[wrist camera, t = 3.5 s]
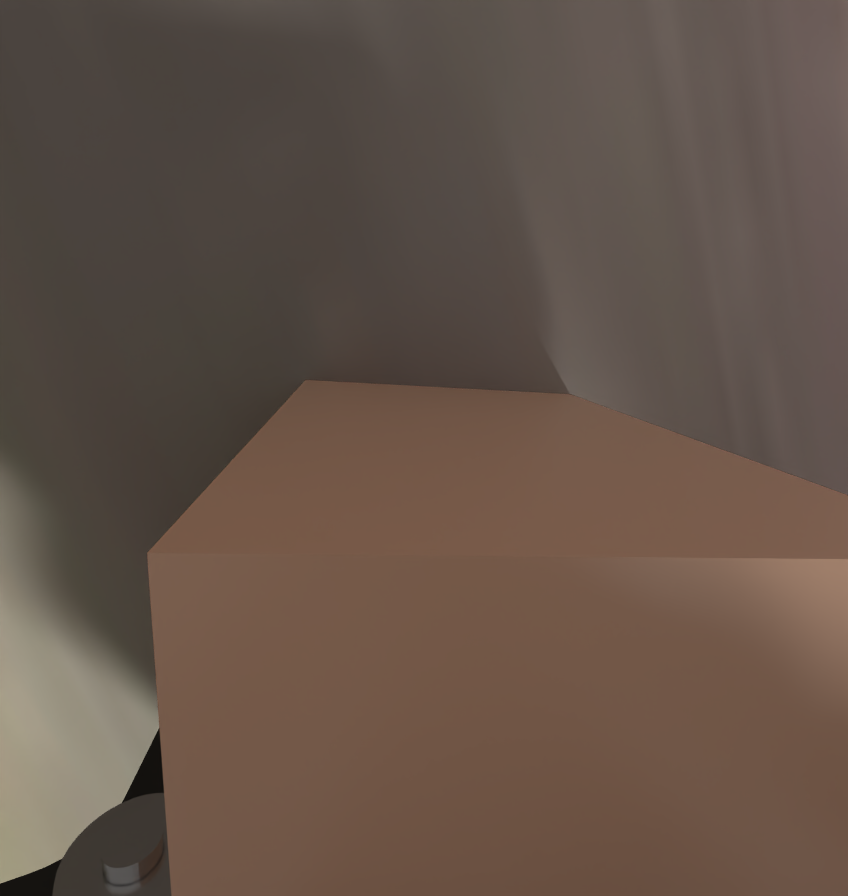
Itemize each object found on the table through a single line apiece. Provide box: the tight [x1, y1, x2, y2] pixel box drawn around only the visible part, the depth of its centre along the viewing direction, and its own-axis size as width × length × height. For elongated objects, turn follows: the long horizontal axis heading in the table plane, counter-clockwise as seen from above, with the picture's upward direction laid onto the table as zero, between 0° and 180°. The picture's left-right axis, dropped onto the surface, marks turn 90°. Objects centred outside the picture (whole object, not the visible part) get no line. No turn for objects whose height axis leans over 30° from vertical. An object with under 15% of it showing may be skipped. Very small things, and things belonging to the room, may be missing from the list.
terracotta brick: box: [147, 380, 848, 896], centre depth 7 cm, size 5×10×7 cm, turn 176°
